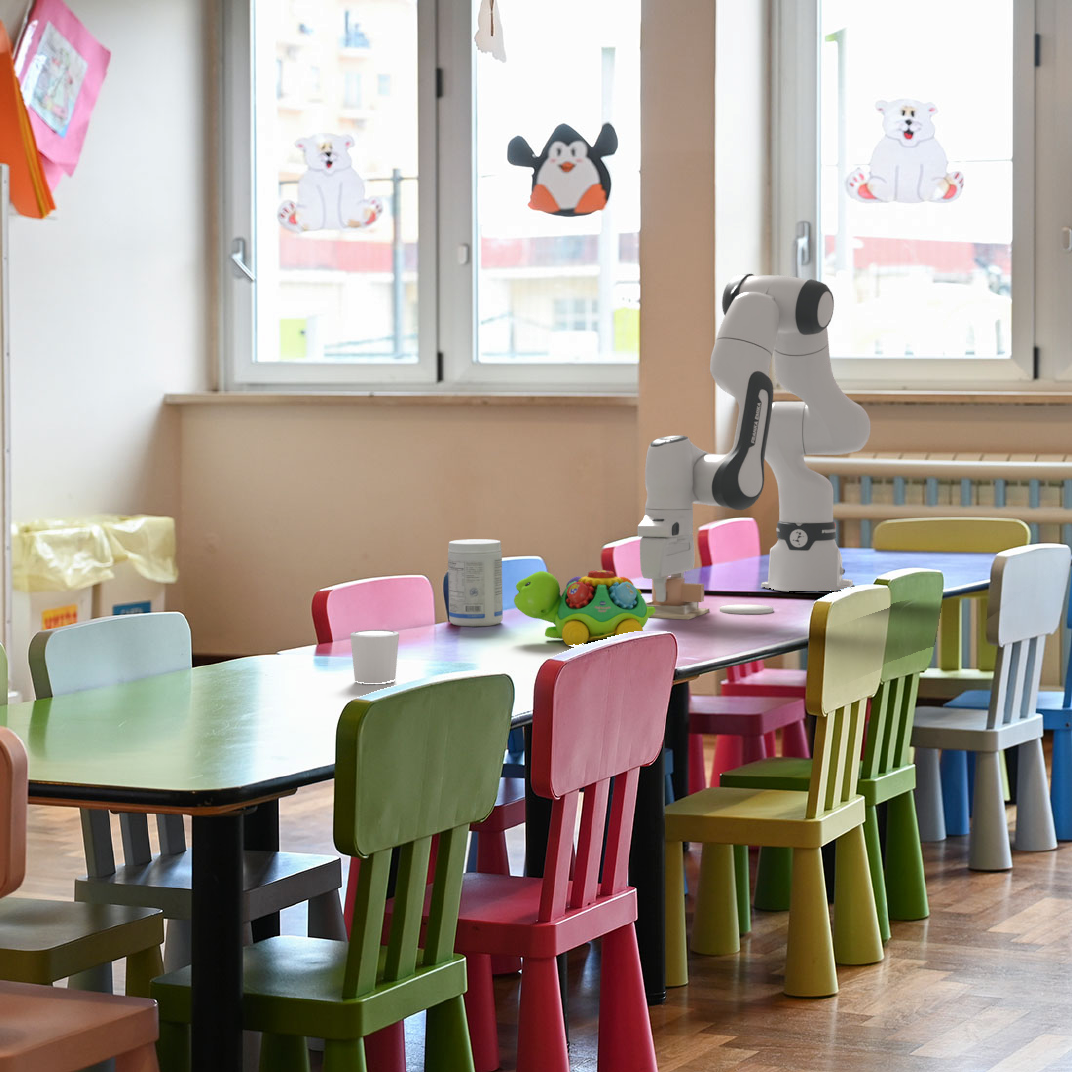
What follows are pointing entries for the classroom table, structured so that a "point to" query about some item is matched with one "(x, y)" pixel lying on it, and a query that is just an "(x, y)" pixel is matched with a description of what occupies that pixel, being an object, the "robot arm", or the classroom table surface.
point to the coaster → (746, 609)
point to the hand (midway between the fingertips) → (668, 599)
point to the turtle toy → (584, 605)
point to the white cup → (374, 655)
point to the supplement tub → (475, 582)
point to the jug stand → (677, 611)
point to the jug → (680, 592)
